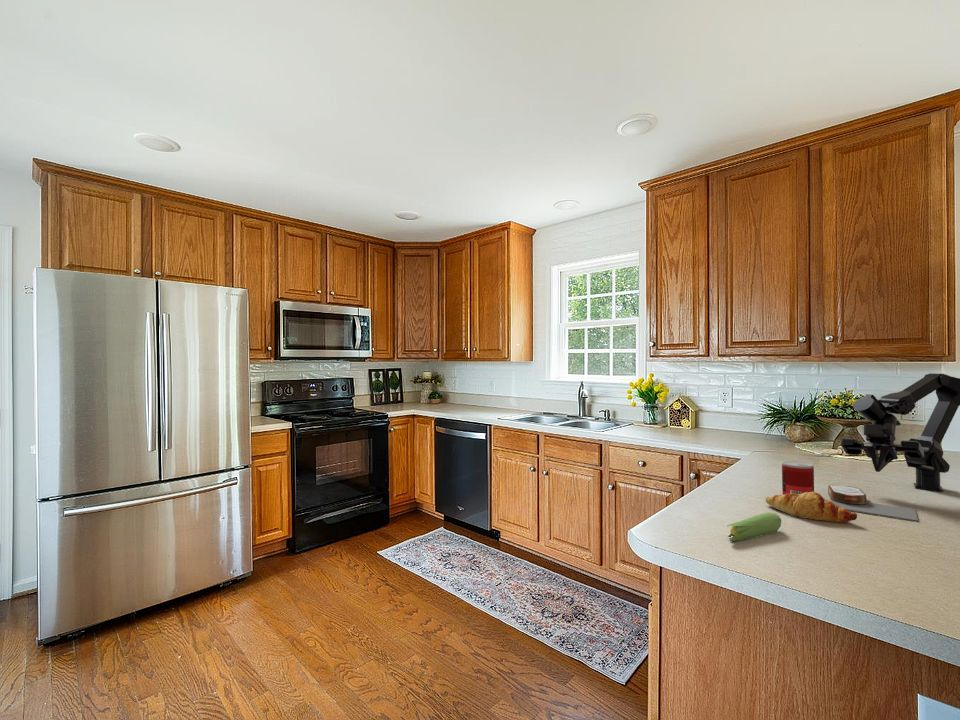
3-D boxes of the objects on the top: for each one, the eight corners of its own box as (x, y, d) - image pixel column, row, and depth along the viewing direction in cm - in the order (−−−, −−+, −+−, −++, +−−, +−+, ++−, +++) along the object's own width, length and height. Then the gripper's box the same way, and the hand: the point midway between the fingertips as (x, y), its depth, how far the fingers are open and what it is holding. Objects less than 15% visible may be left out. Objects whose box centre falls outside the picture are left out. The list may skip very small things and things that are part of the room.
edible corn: (789, 516, 110) (772, 505, 114) (733, 531, 102) (716, 520, 106) (784, 534, 112) (767, 523, 116) (728, 550, 104) (712, 538, 108)
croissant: (762, 519, 130) (756, 497, 127) (773, 497, 135) (767, 476, 133) (855, 540, 113) (850, 515, 111) (863, 513, 119) (858, 489, 116)
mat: (832, 498, 137) (832, 497, 137) (914, 510, 125) (914, 509, 125) (830, 507, 128) (830, 506, 128) (918, 521, 116) (918, 520, 116)
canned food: (820, 503, 133) (819, 466, 133) (793, 503, 133) (792, 466, 133) (802, 495, 140) (801, 460, 140) (776, 495, 140) (776, 460, 141)
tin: (859, 494, 140) (825, 493, 145) (858, 484, 140) (824, 483, 145) (870, 506, 127) (833, 503, 132) (869, 494, 128) (831, 492, 132)
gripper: (838, 413, 147) (830, 453, 141) (915, 413, 132) (910, 458, 125) (850, 434, 151) (843, 473, 145) (926, 436, 136) (922, 480, 129)
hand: (877, 471), depth 136 cm, fingers closed
